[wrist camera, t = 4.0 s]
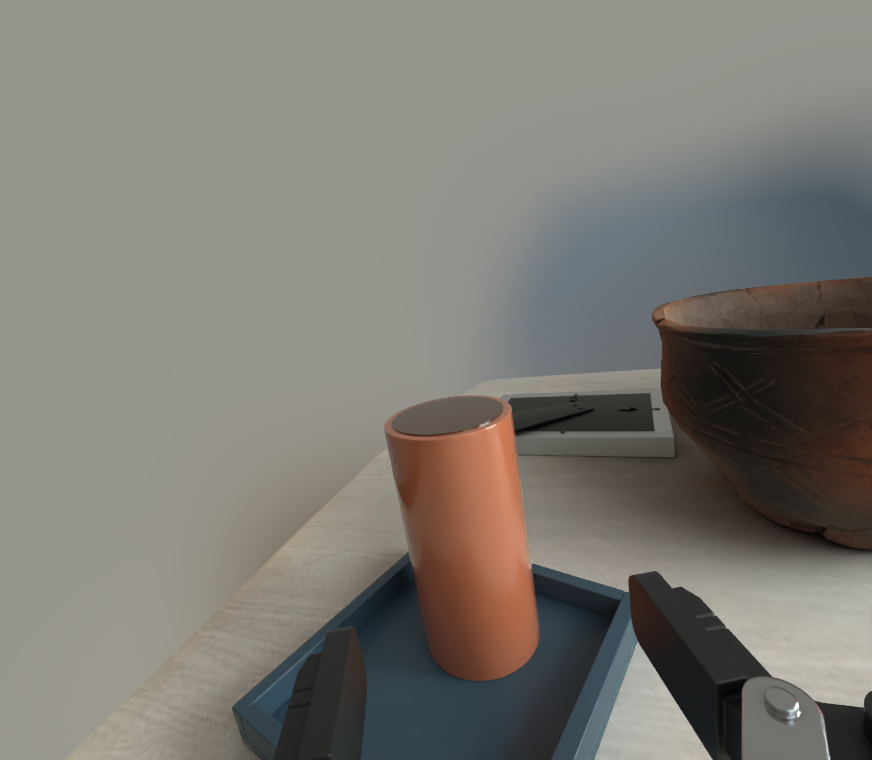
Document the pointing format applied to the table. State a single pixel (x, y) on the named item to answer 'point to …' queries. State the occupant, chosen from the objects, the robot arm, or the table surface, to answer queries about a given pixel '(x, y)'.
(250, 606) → the table surface
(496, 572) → the tumbler
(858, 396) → the bowl
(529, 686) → the tray
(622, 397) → the picture frame
